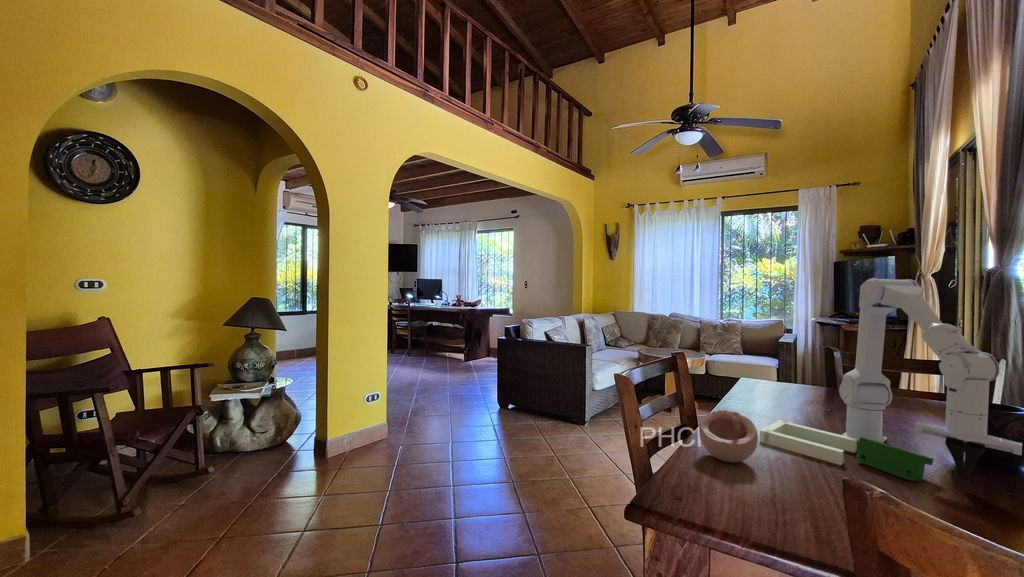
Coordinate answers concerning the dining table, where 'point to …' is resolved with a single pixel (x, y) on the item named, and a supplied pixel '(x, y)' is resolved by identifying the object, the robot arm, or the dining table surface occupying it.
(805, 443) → the bracket
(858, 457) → the dark green block
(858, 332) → the robot arm
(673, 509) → the dining table surface
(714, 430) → the pink round bowl
